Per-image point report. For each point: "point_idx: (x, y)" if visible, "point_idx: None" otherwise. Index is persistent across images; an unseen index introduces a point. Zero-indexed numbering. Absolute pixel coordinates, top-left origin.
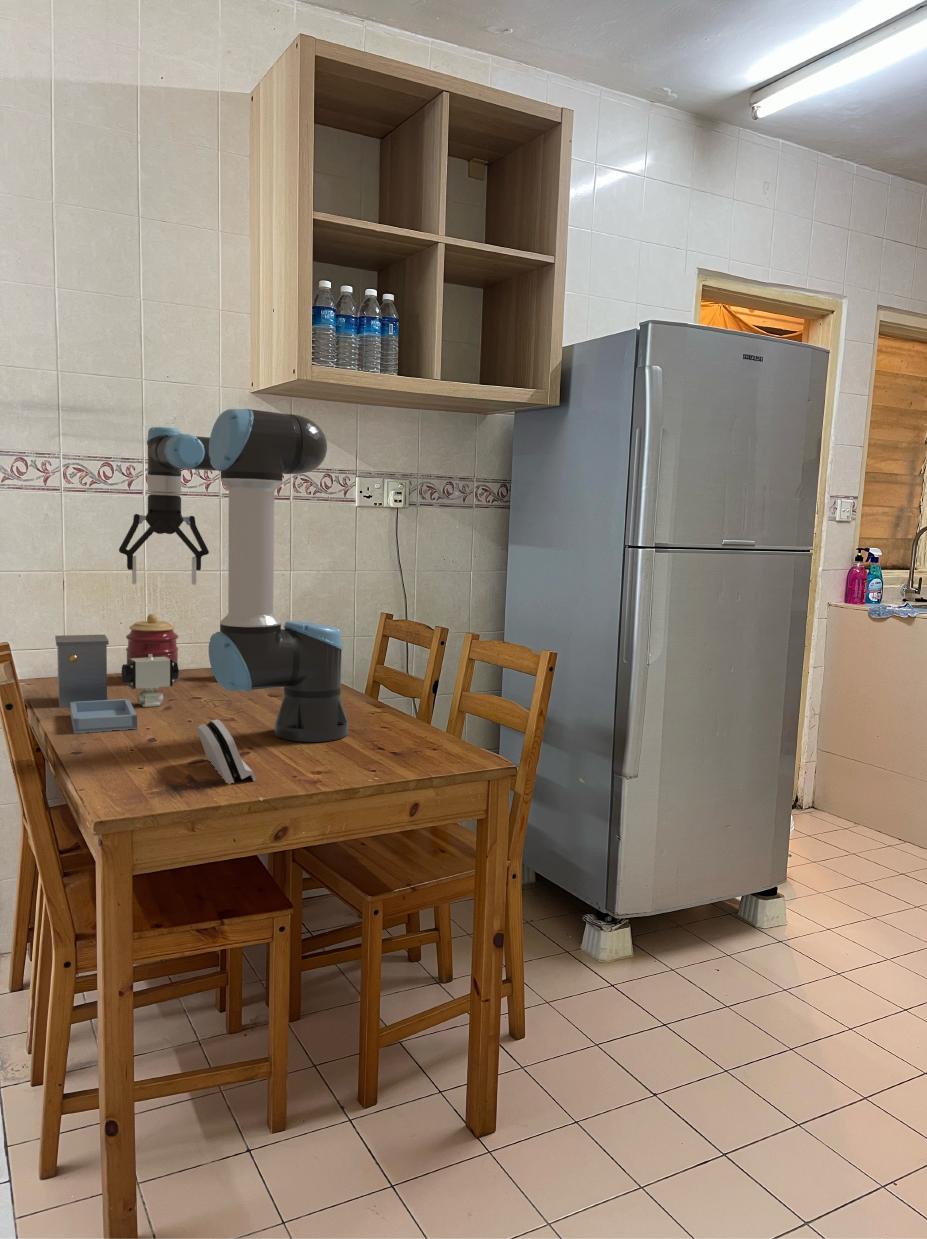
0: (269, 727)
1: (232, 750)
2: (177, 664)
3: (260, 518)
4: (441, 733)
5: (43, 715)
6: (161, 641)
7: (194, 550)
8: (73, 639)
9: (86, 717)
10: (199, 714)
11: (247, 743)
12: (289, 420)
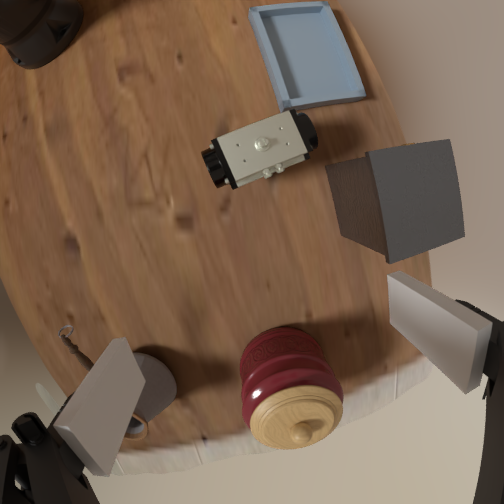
0: (82, 45)
1: None
2: (202, 156)
3: None
4: None
5: (389, 106)
6: (270, 375)
7: (44, 463)
8: (434, 179)
9: (314, 6)
10: (168, 97)
11: None
12: None
